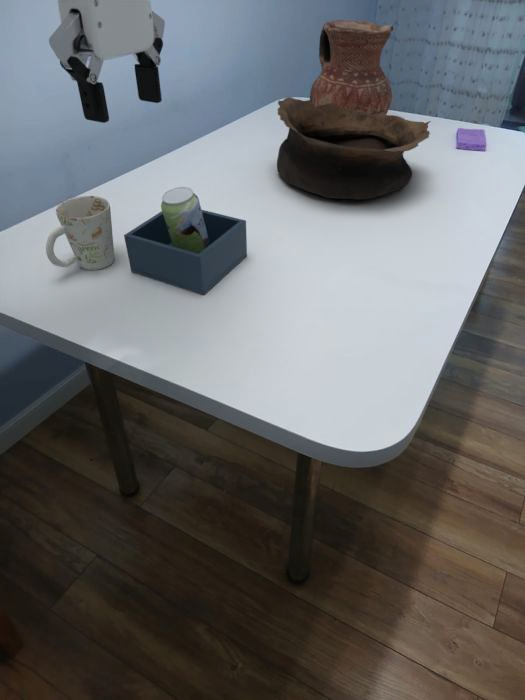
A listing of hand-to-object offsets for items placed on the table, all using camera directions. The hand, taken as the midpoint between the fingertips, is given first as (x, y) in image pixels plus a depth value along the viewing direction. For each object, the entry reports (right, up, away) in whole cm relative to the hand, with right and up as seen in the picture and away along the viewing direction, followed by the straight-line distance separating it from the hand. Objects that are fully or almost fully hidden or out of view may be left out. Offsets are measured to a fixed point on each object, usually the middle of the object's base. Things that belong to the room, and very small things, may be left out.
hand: (125, 110), depth 59 cm
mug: (-13, -15, +25) cm, 32 cm away
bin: (+4, -14, +25) cm, 29 cm away
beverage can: (+4, -14, +25) cm, 29 cm away
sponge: (+72, +26, +72) cm, 104 cm away
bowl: (+35, +10, +53) cm, 64 cm away
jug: (+41, +34, +81) cm, 97 cm away
